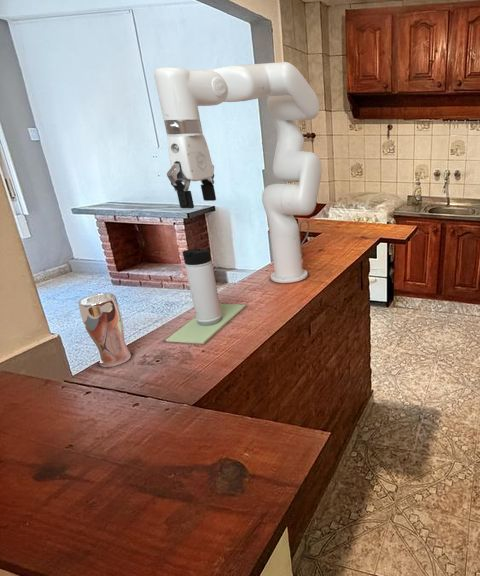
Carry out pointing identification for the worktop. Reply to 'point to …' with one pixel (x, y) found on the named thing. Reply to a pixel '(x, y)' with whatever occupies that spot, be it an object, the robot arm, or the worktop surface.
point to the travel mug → (202, 286)
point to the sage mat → (204, 327)
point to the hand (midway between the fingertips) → (199, 204)
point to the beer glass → (105, 328)
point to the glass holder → (300, 230)
